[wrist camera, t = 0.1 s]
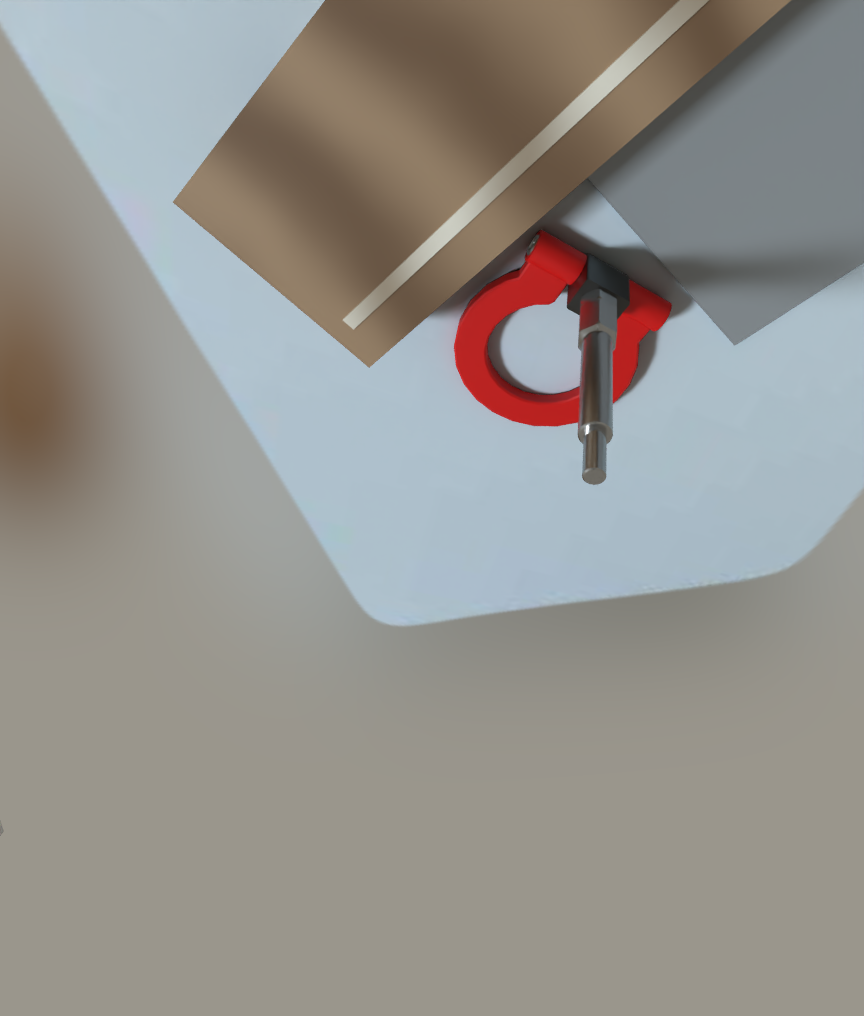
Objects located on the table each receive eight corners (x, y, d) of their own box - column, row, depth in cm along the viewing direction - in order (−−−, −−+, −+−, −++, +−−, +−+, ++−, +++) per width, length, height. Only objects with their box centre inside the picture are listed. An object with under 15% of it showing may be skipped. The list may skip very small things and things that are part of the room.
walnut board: (645, -419, 22) (657, -440, 19) (838, -93, 26) (872, -70, 23) (206, 161, 34) (171, 202, 31) (384, 319, 38) (368, 368, 35)
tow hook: (571, 437, 42) (689, 303, 36) (560, 643, 33) (714, 515, 27) (427, 364, 40) (525, 209, 34) (375, 563, 32) (494, 405, 25)
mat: (878, -108, 26) (880, -106, 25) (1025, 153, 30) (1028, 156, 30) (576, 162, 32) (576, 165, 32) (733, 341, 37) (734, 345, 37)
